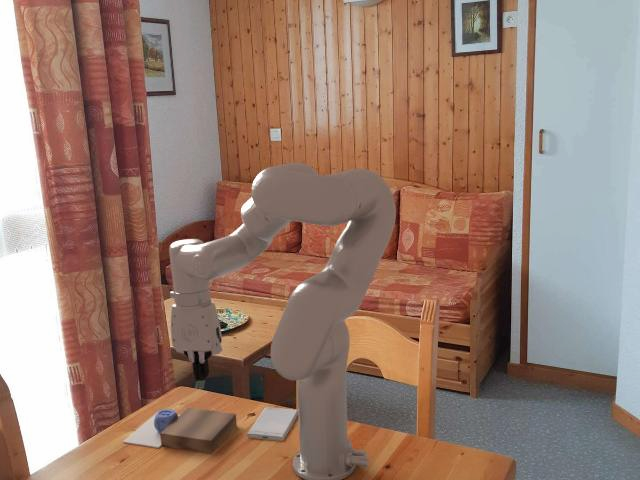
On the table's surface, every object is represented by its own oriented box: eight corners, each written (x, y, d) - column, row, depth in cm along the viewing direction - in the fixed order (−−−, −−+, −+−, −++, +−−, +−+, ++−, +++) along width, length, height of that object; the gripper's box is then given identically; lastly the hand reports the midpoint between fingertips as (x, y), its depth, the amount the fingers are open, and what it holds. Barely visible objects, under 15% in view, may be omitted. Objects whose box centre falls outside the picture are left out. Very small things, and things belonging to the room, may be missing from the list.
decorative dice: (179, 426, 144) (164, 424, 146) (178, 410, 143) (162, 407, 145) (170, 435, 141) (154, 432, 142) (168, 418, 140) (153, 416, 141)
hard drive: (264, 406, 151) (246, 432, 139) (298, 409, 149) (282, 436, 137) (265, 413, 151) (247, 439, 139) (298, 416, 149) (283, 443, 137)
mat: (191, 417, 149) (191, 416, 149) (158, 448, 136) (158, 447, 136) (158, 412, 152) (157, 411, 152) (122, 442, 139) (122, 441, 139)
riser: (236, 426, 144) (235, 413, 144) (211, 453, 133) (210, 440, 132) (189, 419, 148) (188, 407, 147) (161, 446, 137) (160, 433, 136)
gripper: (152, 301, 135) (163, 383, 139) (216, 303, 131) (225, 387, 134) (171, 292, 142) (180, 369, 146) (232, 293, 138) (240, 373, 141)
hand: (202, 377), depth 140 cm, fingers closed
